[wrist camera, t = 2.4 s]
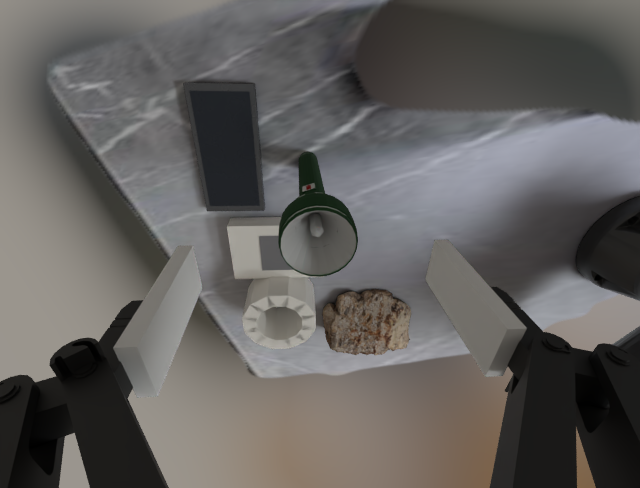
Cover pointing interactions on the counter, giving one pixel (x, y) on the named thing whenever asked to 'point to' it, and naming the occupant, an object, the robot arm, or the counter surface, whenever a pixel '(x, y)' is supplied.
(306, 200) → the flashlight
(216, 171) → the phone
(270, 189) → the counter surface
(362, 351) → the rock
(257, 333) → the block
